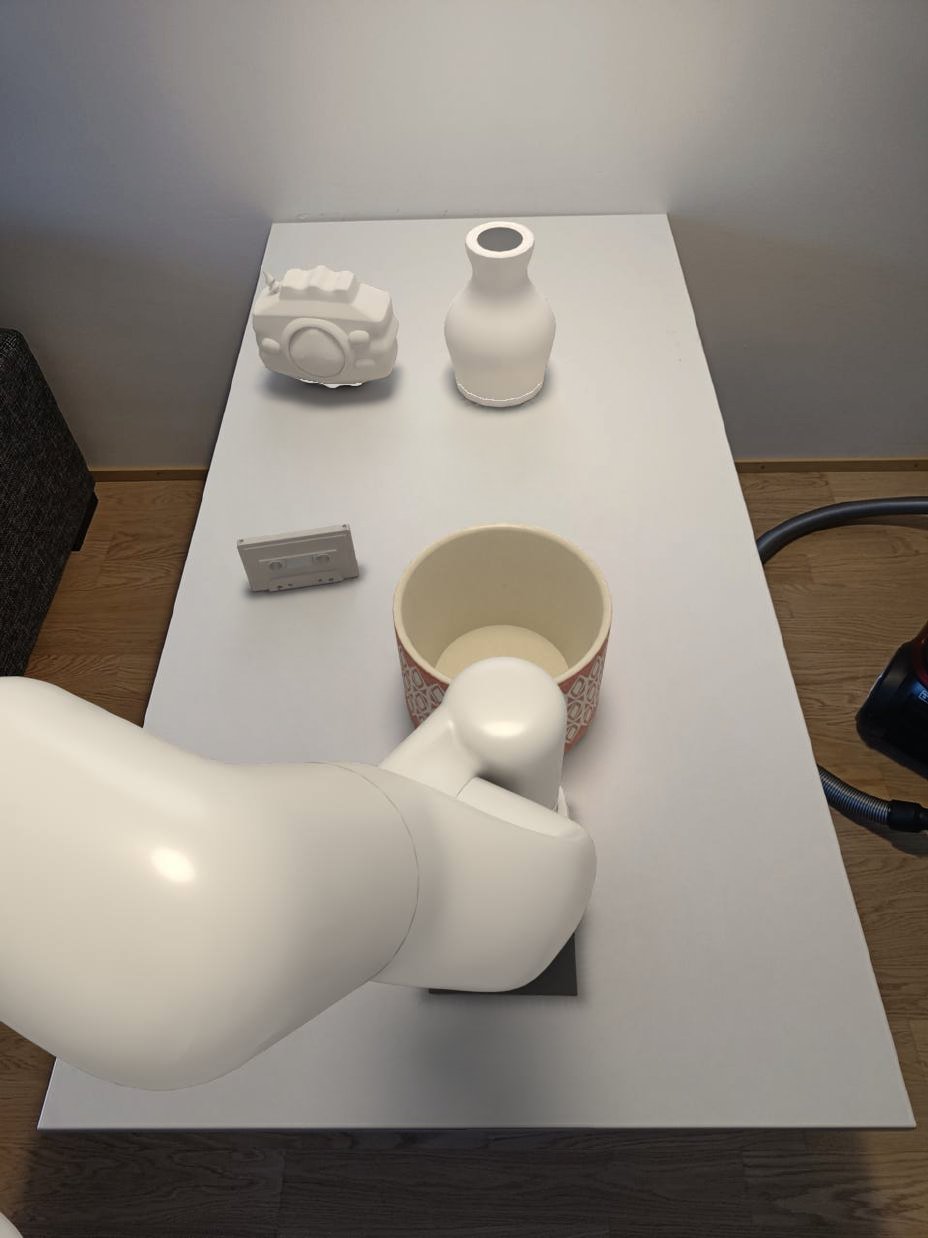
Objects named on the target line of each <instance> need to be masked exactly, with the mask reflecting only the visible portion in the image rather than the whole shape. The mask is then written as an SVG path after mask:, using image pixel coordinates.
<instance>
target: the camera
mask: <svg viewBox="0 0 928 1238" xmlns="http://www.w3.org/2000/svg"><path fill="white" fill-rule="evenodd" d="M261 271H262V274H263V275H264V278H265V284H266V285H267V286H266V287H264V288H263V289H262V290H261V292H260V294H259V296H258V297H257V299H256V302H255V305H254V306H253V309H252V329H253V331H254V333H255V341H256V345H257V347H258V356H259V358H260V360H261V363H262V364H263V365H264V368H265V369H267V370H268V371H271V372H273V373H276V374H277V373H278V374H281V375H284V376H287V377H291V378H294V379H296V378H298V379H303V380H308V381H313V382H318V383H323V384H356V383H364V384H365V383H367V382H370V381H376V380H380V379H383V378H386V377H388V376H389V375H390V374H391V373H392V371H393V369H394V366H395V364H396V363H395V362H396V360H397V356H398V351H399V344H398V338H397V336H398V331H399V327H400V324H399V318H398V317H397V315H396V314H395V313H394V310H393V299H392V296H391V294H390V293H389V292H388V291H385V290H383V289H380V288H378V287H375V286H372V285H369V284H366V283H363V282H360V281H359V280H358V278H357V276H356V275H355V273H354V272H352V271H348V270H342V271H334V270H331V269H330V268H329V267H327V266H325V265H317V266H315V267H314V268H312V269H309V270H306V269H301V268H298V267H297V268H290V269H288V270H287V271H286V273H285V274H284V276H283V279H282V280H280V281H276V277H275V276H273V275H272V274H270V273H268V272H267V270H265V269H264V268H262V270H261ZM298 379H297V380H298Z"/></svg>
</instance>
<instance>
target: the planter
mask: <svg viewBox="0 0 928 1238" xmlns="http://www.w3.org/2000/svg"><path fill="white" fill-rule="evenodd" d="M392 601H393V602H392V619H393V627H394V631H395V632H394V633H395V639H396V647H397V652H398V658H399V665H400V671H401V678H402V684H403V691H404V697H405V703H406V705H407V709H408V712H409V716H410V718H411V720H412V722H413V723H414V726H415V728H416V729H417V728H418V727H419V726H420V725H421V724H422V723H423V722H424V721H425V720H426V719H427V718H428V717H429V716H430V715H431V714H432V713H433V712H434V711H435V710H436V709H437V708H438V706H439V705H440V704H441V703H442V700H443V698H444V695H445V692H446V690H447V689H448V687H449V685H450V683H451V682H452V681H453V680H454V678H455V677H456V676H457V675H458V674H459V673H460V672H461V671H462V670H464V669H465V668H466V667H468V666H470V665H471V664H473V663H476V662H478V661H480V660H483V659H487V658H492V657H515V658H519V659H523V660H526V661H529V662H531V663H534V664H535V665H537V666H539V667H540V668H542V669H543V670H545V671H546V672H547V673H548V674H549V675H550V676H551V677H552V678H553V679H554V681H555V682H556V683H557V684H558V686H559V688H560V690H561V691H562V694H563V697H564V699H565V702H566V707H567V730H566V738H565V746H564V753H565V752H567V751H569V749H570V748H572V747H573V746H574V745H575V744H576V743H577V742H578V741H579V740H580V739H581V738H582V736H583V735H584V734H585V732H587V730H588V728H589V726H590V724H591V723H592V721H593V719H594V716H595V714H596V710H597V707H598V704H599V699H600V692H601V686H602V680H603V674H604V668H605V662H606V657H607V651H608V646H609V645H608V644H609V638H610V634H611V627H612V621H613V620H612V619H613V602H612V595H611V591H610V588H609V585H608V581H607V580H606V578H605V576H604V574H603V572H602V570H601V569H600V567H599V566H598V565H597V563H595V561H594V560H593V558H592V557H591V556H590V555H589V554H588V553H586V552H585V551H584V550H583V549H582V548H581V547H580V546H579V545H577V544H575V543H574V542H572V541H571V540H570V539H568V538H566V537H564V536H563V535H560V534H558V533H556V532H554V531H551V530H548V529H545V528H542V527H539V526H535V525H531V524H526V523H525V524H524V523H518V522H488V523H479V524H475V525H469V526H466V527H461V528H459V529H457V530H454V531H451V532H448V533H447V534H445V535H442V536H440V537H439V538H437V539H435V540H434V541H432V542H431V543H430V544H428V545H426V546H425V547H424V548H422V549H421V550H420V552H418V553H417V555H415V556H414V557H413V558H412V559H411V560H410V562H409V563H408V565H407V566H406V567H405V569H404V570H403V572H402V574H401V576H400V578H399V580H398V581H397V583H396V588H395V591H394V594H393V599H392Z"/></svg>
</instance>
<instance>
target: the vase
mask: <svg viewBox="0 0 928 1238" xmlns="http://www.w3.org/2000/svg"><path fill="white" fill-rule="evenodd" d="M464 241H465V242H464V245H465V252H466V255H467V257H468V259H469V262H470V265H471V269H472V271H471V272H472V275H471V278H470V279H469V280H468V281H467V283H466V284H465V285H464V286H463V287H462V288H461V289H460V290H459V292H457V293H456V294H455V296H454V297H453V299H452V301H451V302H450V305H449V307H448V310H447V313H446V316H445V319H444V324H443V334H444V335H443V336H444V339H445V344H446V347H447V351H448V354H449V357H450V360H451V363H452V367H453V371H454V380H455V383H456V386H457V389H458V391H459V392H460V393H461V394H462V395H463V396H464V397H465V398H466V399H467V400H469V401H471V402H474V403H476V404H478V405H481V406H484V407H493V408H506V407H513V406H519V405H521V404H523V403H526V402H527V401H529V400H532V399H533V398H535V397H536V395H538V393H539V392H540V391H541V390H542V389H543V385H544V382H545V377H546V376H545V374H546V370H547V367H548V363H549V360H550V357H551V353H552V350H553V345H554V341H555V335H556V331H557V328H556V327H557V323H556V316H555V314H554V310H553V309H552V306H551V304H550V302H549V300H548V298H547V296H546V295H545V293H544V292H543V291H542V290H541V288H539V287H538V286H537V285H536V284H535V283H534V282H533V281H532V280H531V279H530V276H529V274H528V267H529V265H530V262H531V259H532V257H533V252H534V249H535V245H536V243H535V236H534V234H533V232H532V230H530V229H529V228H528V227H526V226H525V225H523V224H520V223H517V222H514V221H502V220H497V221H490V222H485V223H483V224H479V225H477V226H475V227H474V228H472V229H471V230H469V232H467V235H466V238H465V240H464ZM455 374H456V375H455ZM456 378H457V379H456ZM542 380H543V381H542ZM457 381H458V382H457ZM541 382H542V383H541ZM458 383H459V384H461V385H462V387H464V389H465V390H467V392H469V393H472V394H474V395H476V396H478V397H481V398H484V399H486V398H487V399H494V400H506V399H511V398H518V397H521V396H523V395H525V394H527V393H529V392H531V391H533V390H534V389H535V388H536V387H537V386H538V384H540V383H541V384H540V385H539V386H538V387H537V388H536V389H535V390H534V391H533V392H532V393H530V394H528V395H525V396H523V397H521V398H519V399H513V400H507V401H492V400H483V399H480V398H478V397H475V396H473V395H471V394H468V393H467V392H466V391H465V390H464V389H463V388H462V387H461V386H460V385H458Z"/></svg>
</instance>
